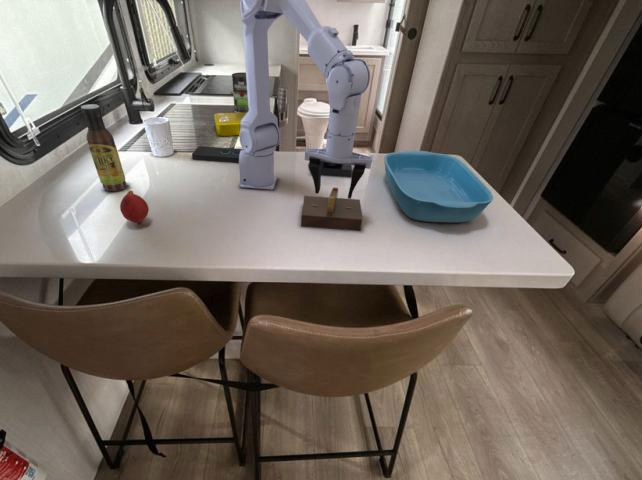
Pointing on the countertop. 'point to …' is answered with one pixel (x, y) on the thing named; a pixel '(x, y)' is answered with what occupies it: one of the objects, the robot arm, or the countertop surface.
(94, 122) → the sauce bottle
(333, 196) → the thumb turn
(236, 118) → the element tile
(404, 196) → the casserole dish
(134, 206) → the onion
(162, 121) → the white cup
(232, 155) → the smart home device
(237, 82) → the coffee can
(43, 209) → the countertop surface
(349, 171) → the push button box
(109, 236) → the countertop surface
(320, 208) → the plate
